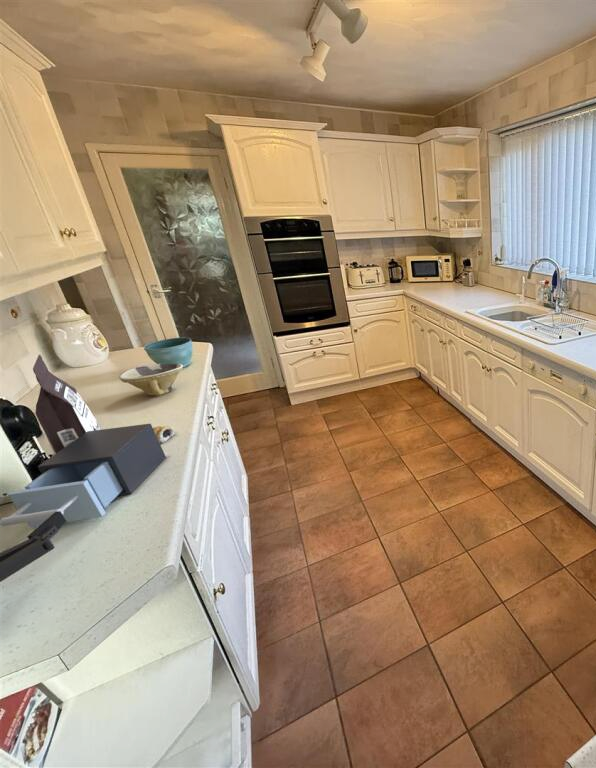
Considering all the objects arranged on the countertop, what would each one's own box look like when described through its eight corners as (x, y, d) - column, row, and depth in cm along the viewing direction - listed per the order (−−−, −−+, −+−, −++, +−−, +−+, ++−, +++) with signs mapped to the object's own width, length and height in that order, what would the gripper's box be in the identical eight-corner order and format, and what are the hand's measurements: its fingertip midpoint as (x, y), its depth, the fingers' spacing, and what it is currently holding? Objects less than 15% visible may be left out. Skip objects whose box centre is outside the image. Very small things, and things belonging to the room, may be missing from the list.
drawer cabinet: (131, 494, 94) (111, 456, 89) (61, 505, 91) (36, 466, 86) (166, 457, 108) (150, 423, 103) (106, 466, 105) (87, 431, 100)
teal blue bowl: (196, 368, 171) (188, 344, 167) (149, 376, 164) (138, 351, 160) (201, 357, 184) (193, 335, 180) (157, 364, 177) (148, 341, 173)
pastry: (129, 445, 114) (124, 434, 112) (148, 433, 120) (143, 423, 119) (162, 444, 114) (157, 433, 112) (179, 432, 120) (175, 421, 119)
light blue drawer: (82, 536, 80) (61, 502, 77) (5, 550, 77) (-21, 515, 74) (141, 476, 99) (126, 446, 95) (80, 485, 96) (62, 455, 92)
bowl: (189, 394, 146) (180, 370, 143) (125, 407, 137) (113, 382, 133) (192, 379, 160) (183, 357, 156) (134, 390, 151) (123, 367, 147)
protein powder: (108, 460, 107) (58, 364, 96) (62, 474, 102) (3, 374, 90) (107, 438, 118) (62, 349, 107) (65, 449, 113) (13, 358, 101)
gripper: (-15, 589, 57) (87, 495, 76) (-258, 636, 51) (-82, 522, 70) (13, 624, 60) (105, 525, 79) (-214, 671, 54) (-56, 553, 73)
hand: (17, 523), depth 74 cm, fingers open, 13 cm apart
